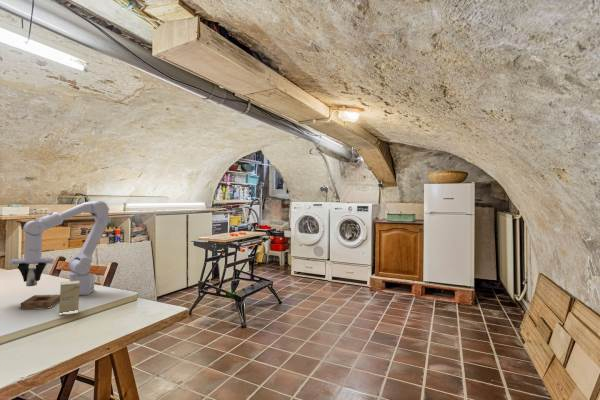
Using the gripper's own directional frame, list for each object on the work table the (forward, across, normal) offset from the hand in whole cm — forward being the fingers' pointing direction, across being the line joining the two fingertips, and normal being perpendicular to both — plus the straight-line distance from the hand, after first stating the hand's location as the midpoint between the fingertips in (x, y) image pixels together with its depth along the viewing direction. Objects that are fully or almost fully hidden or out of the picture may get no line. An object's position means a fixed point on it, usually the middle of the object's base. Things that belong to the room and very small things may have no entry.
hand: (31, 280), depth 136 cm
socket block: (+9, -5, +5) cm, 12 cm away
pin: (+2, 0, 0) cm, 2 cm away
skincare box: (+9, -18, +18) cm, 27 cm away
